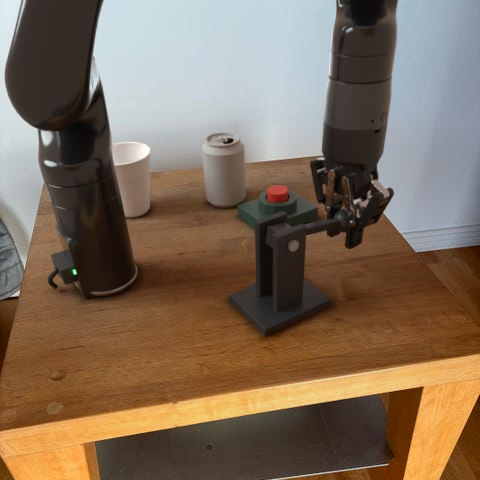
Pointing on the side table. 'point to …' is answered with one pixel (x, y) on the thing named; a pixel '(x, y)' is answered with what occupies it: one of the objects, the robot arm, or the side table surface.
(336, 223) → the switch lever
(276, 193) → the power button
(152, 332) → the side table surface
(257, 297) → the pivot lever stand
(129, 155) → the cup
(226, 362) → the side table surface
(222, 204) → the can
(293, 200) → the button base block
